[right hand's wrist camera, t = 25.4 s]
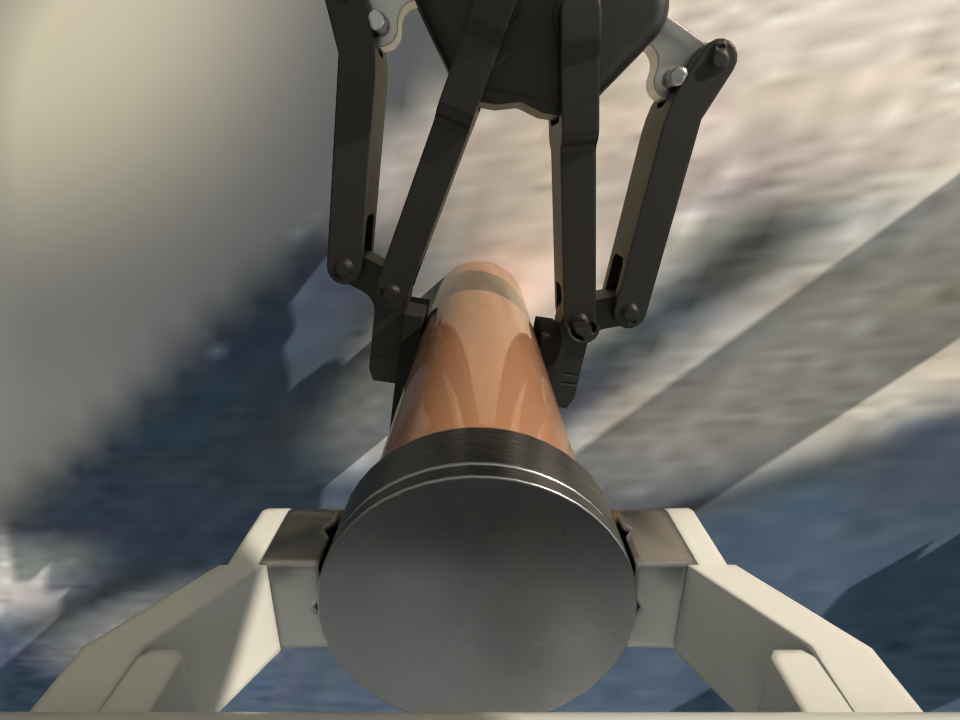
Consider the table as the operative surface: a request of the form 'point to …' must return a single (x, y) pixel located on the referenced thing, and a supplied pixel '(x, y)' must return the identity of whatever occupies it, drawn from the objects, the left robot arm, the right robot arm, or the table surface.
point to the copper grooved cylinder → (478, 365)
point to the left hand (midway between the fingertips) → (459, 455)
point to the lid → (477, 577)
